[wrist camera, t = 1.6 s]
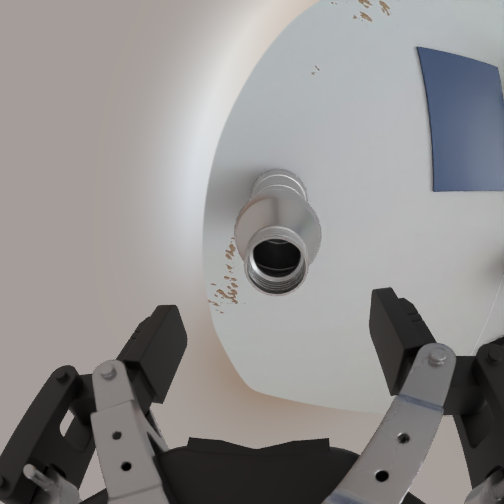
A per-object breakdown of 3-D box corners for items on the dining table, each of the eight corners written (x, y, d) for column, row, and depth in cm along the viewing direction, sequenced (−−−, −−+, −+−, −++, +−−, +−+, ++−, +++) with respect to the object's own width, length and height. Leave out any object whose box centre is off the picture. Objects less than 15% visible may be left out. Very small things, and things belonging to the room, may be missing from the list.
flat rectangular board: (416, 47, 23) (417, 46, 23) (496, 67, 21) (497, 67, 21) (433, 191, 31) (434, 191, 31) (506, 190, 29) (507, 191, 28)
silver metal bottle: (300, 162, 32) (326, 196, 14) (309, 216, 34) (338, 308, 16) (247, 172, 33) (203, 219, 15) (259, 224, 35) (234, 322, 17)
